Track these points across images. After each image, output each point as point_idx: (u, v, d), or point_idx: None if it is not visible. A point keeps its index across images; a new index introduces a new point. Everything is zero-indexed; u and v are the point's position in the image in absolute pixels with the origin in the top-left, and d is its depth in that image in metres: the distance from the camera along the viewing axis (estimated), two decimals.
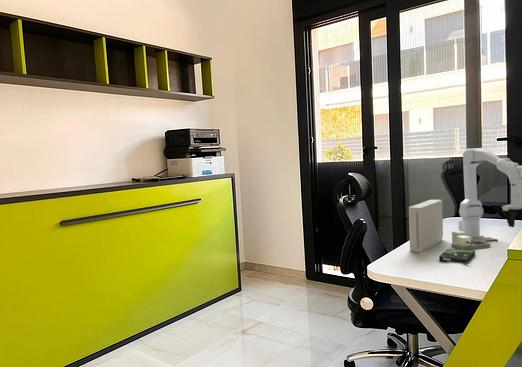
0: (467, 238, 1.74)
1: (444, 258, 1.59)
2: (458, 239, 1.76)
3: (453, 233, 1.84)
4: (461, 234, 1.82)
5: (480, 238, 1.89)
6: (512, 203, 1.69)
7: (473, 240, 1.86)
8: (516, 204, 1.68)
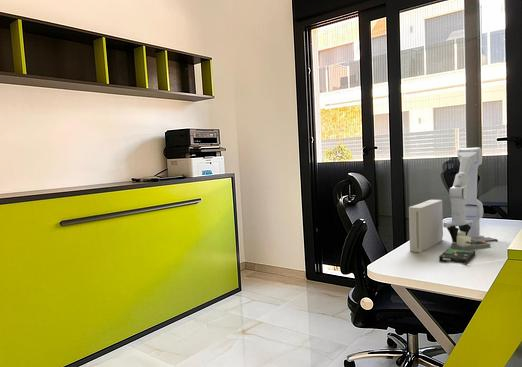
0: (467, 238, 1.74)
1: (444, 258, 1.59)
2: (458, 239, 1.76)
3: None
4: (461, 234, 1.82)
5: (480, 238, 1.89)
6: (452, 220, 1.83)
7: (473, 240, 1.86)
8: (455, 221, 1.82)
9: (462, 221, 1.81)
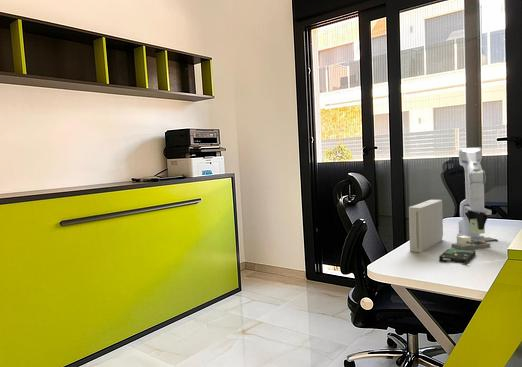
0: (467, 238, 1.74)
1: (444, 258, 1.59)
2: (458, 239, 1.76)
3: None
4: (473, 221, 1.77)
5: (480, 238, 1.89)
6: None
7: (473, 240, 1.86)
8: None
9: (471, 207, 1.76)
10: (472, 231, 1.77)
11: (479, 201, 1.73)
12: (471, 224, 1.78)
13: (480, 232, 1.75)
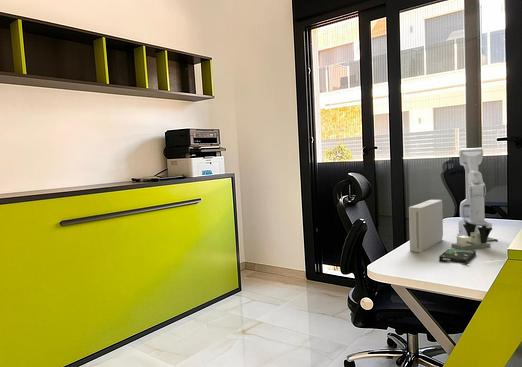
0: (467, 238, 1.74)
1: (444, 258, 1.59)
2: (458, 239, 1.76)
3: None
4: (473, 235, 1.77)
5: None
6: None
7: None
8: None
9: (471, 220, 1.76)
10: None
11: (479, 214, 1.74)
12: (471, 237, 1.78)
13: None
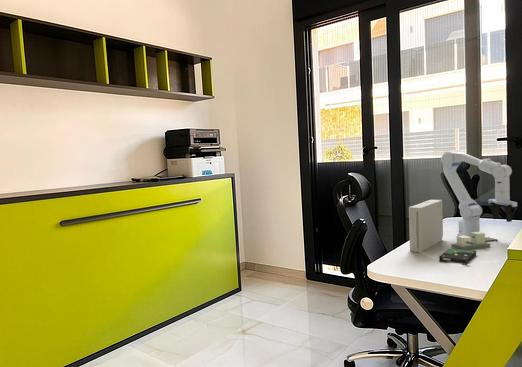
0: (467, 238, 1.74)
1: (444, 258, 1.59)
2: (458, 239, 1.76)
3: None
4: (473, 235, 1.77)
5: None
6: None
7: None
8: None
9: (496, 199, 1.84)
10: None
11: (505, 194, 1.81)
12: (471, 237, 1.78)
13: None
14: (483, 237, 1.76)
